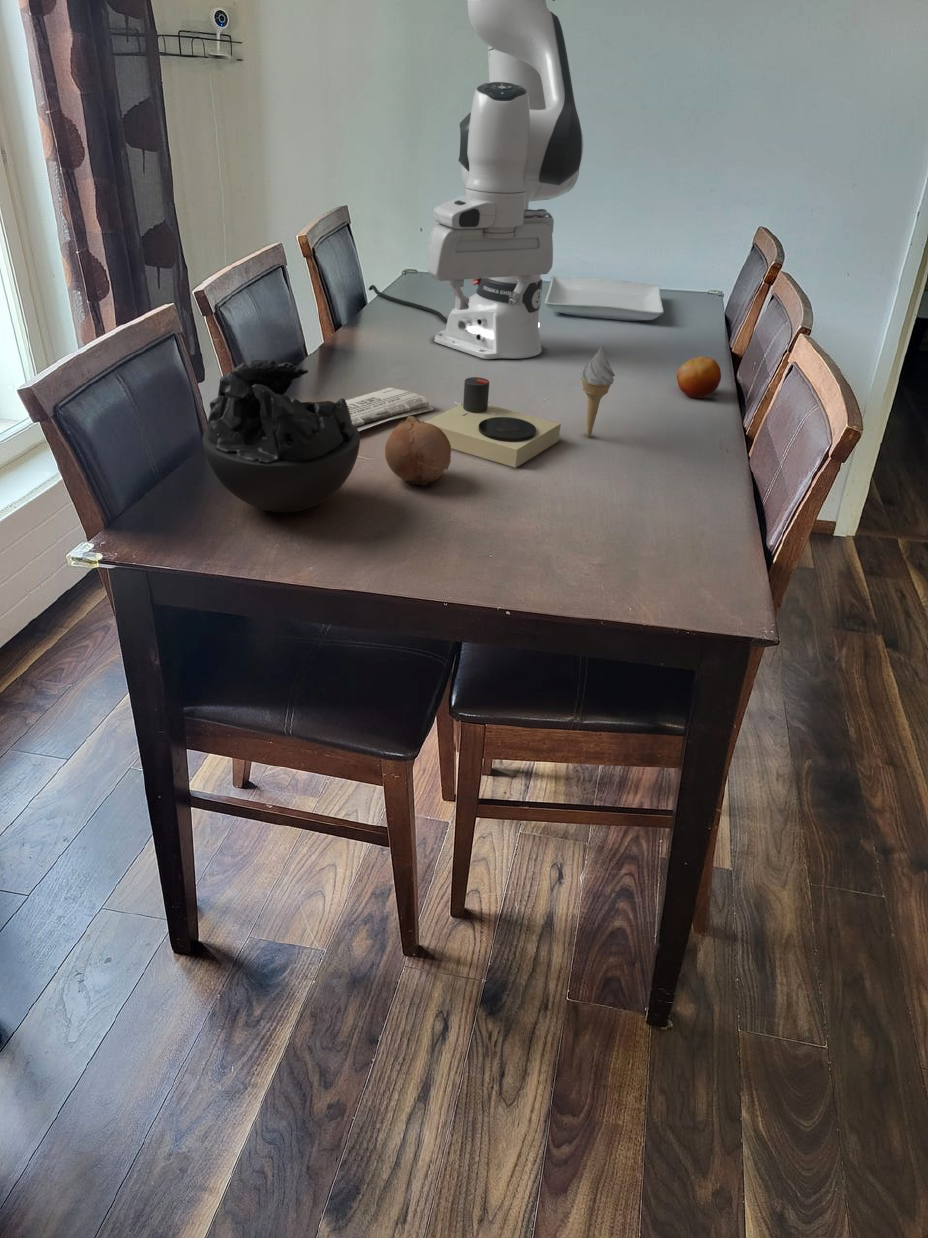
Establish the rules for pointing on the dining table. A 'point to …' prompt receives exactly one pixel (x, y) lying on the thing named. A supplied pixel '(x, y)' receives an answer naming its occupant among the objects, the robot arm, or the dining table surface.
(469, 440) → the hob
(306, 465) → the coal bowl
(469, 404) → the hob knob
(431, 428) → the onion
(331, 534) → the dining table surface
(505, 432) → the burner
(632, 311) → the square plate
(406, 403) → the newspaper
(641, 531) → the dining table surface
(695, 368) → the fruit
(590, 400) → the ice cream cone
